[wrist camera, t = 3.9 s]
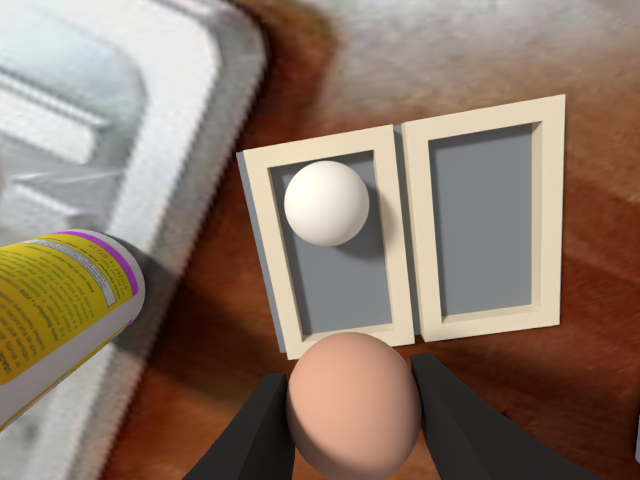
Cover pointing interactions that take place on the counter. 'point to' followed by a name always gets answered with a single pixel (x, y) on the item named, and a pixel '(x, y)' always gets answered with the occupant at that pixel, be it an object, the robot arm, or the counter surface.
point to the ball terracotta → (353, 407)
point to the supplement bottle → (60, 310)
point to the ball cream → (326, 203)
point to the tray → (421, 229)
